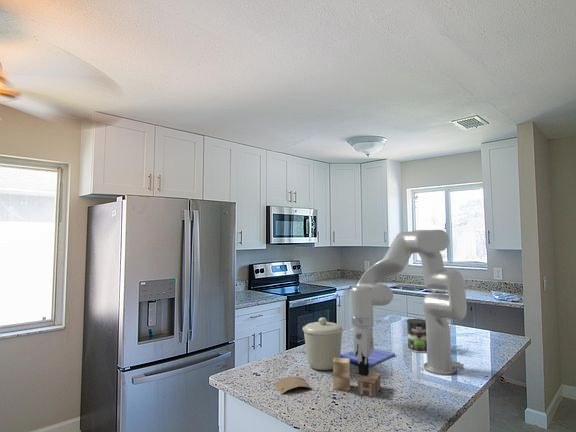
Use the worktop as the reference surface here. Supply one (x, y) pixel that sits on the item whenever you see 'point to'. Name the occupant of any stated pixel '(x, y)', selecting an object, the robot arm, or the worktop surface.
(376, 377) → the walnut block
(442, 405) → the worktop surface
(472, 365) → the worktop surface
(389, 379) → the worktop surface
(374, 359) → the dish towel
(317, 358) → the canister
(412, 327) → the coffee can
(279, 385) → the clay tablet
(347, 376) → the oak block
